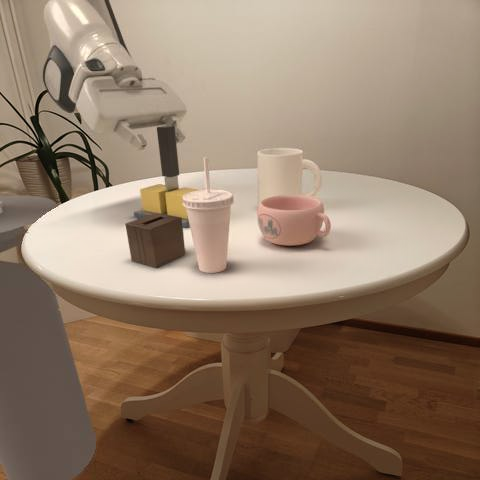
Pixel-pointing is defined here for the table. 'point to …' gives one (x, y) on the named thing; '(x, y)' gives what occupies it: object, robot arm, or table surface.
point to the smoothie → (209, 224)
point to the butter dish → (144, 213)
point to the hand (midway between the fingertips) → (162, 143)
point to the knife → (168, 156)
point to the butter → (165, 200)
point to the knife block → (155, 239)
